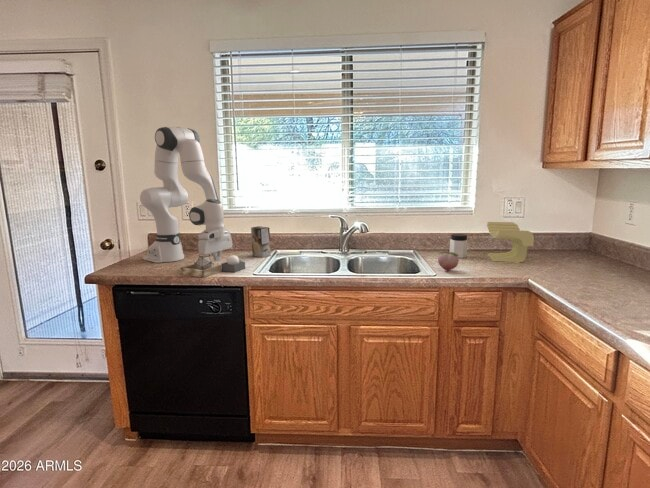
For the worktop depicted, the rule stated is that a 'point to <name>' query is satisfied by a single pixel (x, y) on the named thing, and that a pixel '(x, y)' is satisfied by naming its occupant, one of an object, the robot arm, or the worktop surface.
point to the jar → (459, 244)
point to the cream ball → (233, 260)
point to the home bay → (199, 271)
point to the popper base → (233, 266)
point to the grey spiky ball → (203, 262)
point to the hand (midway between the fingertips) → (217, 260)
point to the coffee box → (260, 241)
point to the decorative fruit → (448, 260)
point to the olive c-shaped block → (515, 235)
